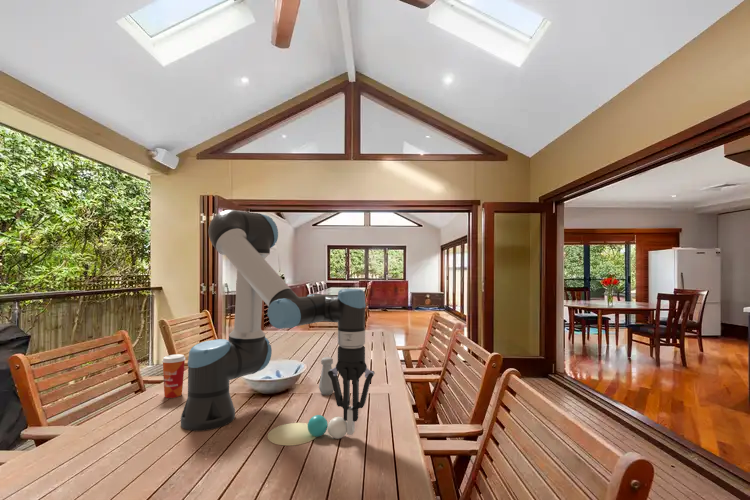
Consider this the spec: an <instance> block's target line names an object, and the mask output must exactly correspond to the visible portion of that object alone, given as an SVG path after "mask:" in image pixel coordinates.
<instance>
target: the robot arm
mask: <svg viewBox="0 0 750 500" xmlns="http://www.w3.org/2000/svg"><path fill="white" fill-rule="evenodd" d="M208 238H209V241H210V243H211V245H212V246H213V247H214V249H215V250H216V251H217V253H219V254H220V255H223V256H226V258H227V259H228V260H229V261H230V262H231V263H232V265H233V266H234V267H235V269H236V271H237V272H236V286H235V287H236V288H235V290H236V291H235V306H234V308H235V309H234V322H233V323H234V325H233V326H234V328H233V330H232V331H231V332H230V333H228V340H227V339H225V338H224V339H223V338H218V339H217V338H216V339H213V340H210V339H209V340H206V341H202V342H199V343H197V344H195V345H194V346H192V347H191V348H190V350H189V352H188V360H187V367H188V368H187V399H186V402H185V403H184V404H185V405H184V406H183V410H182V413H181V416H180V427H181V428H182V429H184V430H187V431H193V432H194V431H195V432H199V431H210V430H215V429H218V428H221V427H224V426H226V425H228V424H230V423H232V422H233V421H234V420H235V418H236V409H235V406H234V403H233V400H232V396H231V393H230V381H231V380H235V379H237V378H241V377H245V376H249V375H253V374H256V373H258V372H260V371H262V370H264V369H265V368H266V367H267V366H268V364H269V363H270V361H271V358H272V355H273V354H272V345H271V344H270V343H271V342H270V340H269V339H268V337H266V333H265V332H264V331H263V330H262V315H263V302H264V303H265V305H267V318H268V319H269V323H270V325H271V326H272V327H274V328H275V329H279V330H280V329H281V330H283V329H284V330H285V329H292V328H295V327H301V326H304V325H311V324H315V323H321V322H329V323H330V322H331V323H337V345H338V347H337V362H336V364H335V367H334V368H333V367H332V369H331V370H330V371H329V372H328V375H329V377H330V378H331V380H332V385H333V389H334V391H333V394H334V397H335V399H334V400H335V403H336V406H337V407H338V408H340V407H341V408H342V409H343V418H344V421H346V422H347V433H346V436H347V435H348V436H349V435H351V436H353V435H354V432H355V427H356V425H355V424H356V423H355V422H357V421H358V420H359V409H363V408H364V406H365V404H366V401H367V396H368V392H369V389H370V384H371V380H372V379H373V377H374V376H375V374H376V373H375V371H374V370H371V369H369V368H368V366H367V365H368V364H367V363H366V347H365V344H366V308H367V304H366V293H365V291H364V290H363V289H359V288H343V289H339V290H338V293H337V295H331V294H330V295H329V294H321V293H313V294H307V295H306V296H299V295H297V294H296V292H295V291H293V289H292V288H291V287H290V286H289V285H288V284H287V283H286V281H284V280H283V278H282V277H281V276H280V275H279V274H278V273H277V271H276V270H275V269H274V268H273V267H272V266H271V265H270V263H268V261H266V258H267V257H268V256H269V255H270V253H271V249H272V248H273V247H274V246H275V245H276V243H277V242H278V238H279V229H278V226H277V224H276V222H275V221H274V219H273V218H271V216H269V215H267V214H262V213H259V212H256V213H255V212H248V211H240V210H235V209H227V210H222V211H221V212H218V213H217V214H216V215H215V216H213V217H212V219H211V220H210V223H209V225H208ZM338 374H339V375H340V376H341V378H342V384H343V389H341V385H340V381H339V380H340V379H339V376H338ZM363 375H364V377H365V381H364V384H363V388H362V393H361V395H360V397H359V394H360V390H359V389H360V388H359V387H360V379H361V377H362V376H363ZM351 384H352V406H351V402H350V398H351V397H350V396H351V391H350V390H351V387H350V386H351ZM342 390H343V392H342ZM359 398H360V399H359Z"/></svg>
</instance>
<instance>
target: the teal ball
mask: <svg viewBox="0 0 750 500" xmlns="http://www.w3.org/2000/svg"><path fill="white" fill-rule="evenodd" d="M307 424H308V431H309V433H310V434H311V435H312V436H315V437H316V438H317V437H321V436H324V434H325V433H326V432H327V431H328V424H329V422H328V421H327V419H326V417H324V416H323V415H321V414H316V415H313V416H312V417H311V418H310V419H309V420H308V422H307Z"/></svg>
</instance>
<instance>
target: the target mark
mask: <svg viewBox="0 0 750 500" xmlns="http://www.w3.org/2000/svg"><path fill="white" fill-rule="evenodd" d="M315 439H317V437H315V436H312V435H311V434H310V433H309V431H308V422H307V423H305V422H291V423H286V424H281V425H279V426H278V425H277V427H276V426H275V427H274V428H273V429H271V430H269V432H268V434H267V440H268V441H269V442H270V443H272V444H273V445H279V446H287V447H289V446H291V447H292V446H299V445H304V444H307V443H309V442H312V441H313V440H315Z"/></svg>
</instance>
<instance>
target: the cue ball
mask: <svg viewBox="0 0 750 500" xmlns="http://www.w3.org/2000/svg"><path fill="white" fill-rule="evenodd" d="M327 432H328V435H329V436H330V437H331V438H334V439H339V440H340V439H342V438H344V437H345V436H346V435H347V421H344V417H342V416H335V417H332V418H331V419H330V421H329V422H328V427H327Z"/></svg>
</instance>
